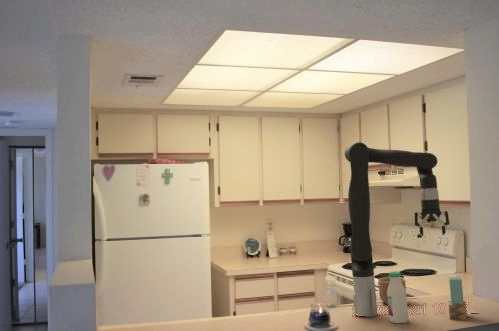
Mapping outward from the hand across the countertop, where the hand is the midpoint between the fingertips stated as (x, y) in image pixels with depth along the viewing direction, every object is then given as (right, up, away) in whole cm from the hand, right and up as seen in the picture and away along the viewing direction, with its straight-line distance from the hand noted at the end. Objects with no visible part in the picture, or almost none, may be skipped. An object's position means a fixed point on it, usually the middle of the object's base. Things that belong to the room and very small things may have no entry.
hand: (432, 235), depth 216 cm
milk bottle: (-19, -34, -14) cm, 41 cm away
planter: (-13, -34, +13) cm, 39 cm away
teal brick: (+4, -26, -15) cm, 30 cm away
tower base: (+5, -32, -16) cm, 35 cm away
